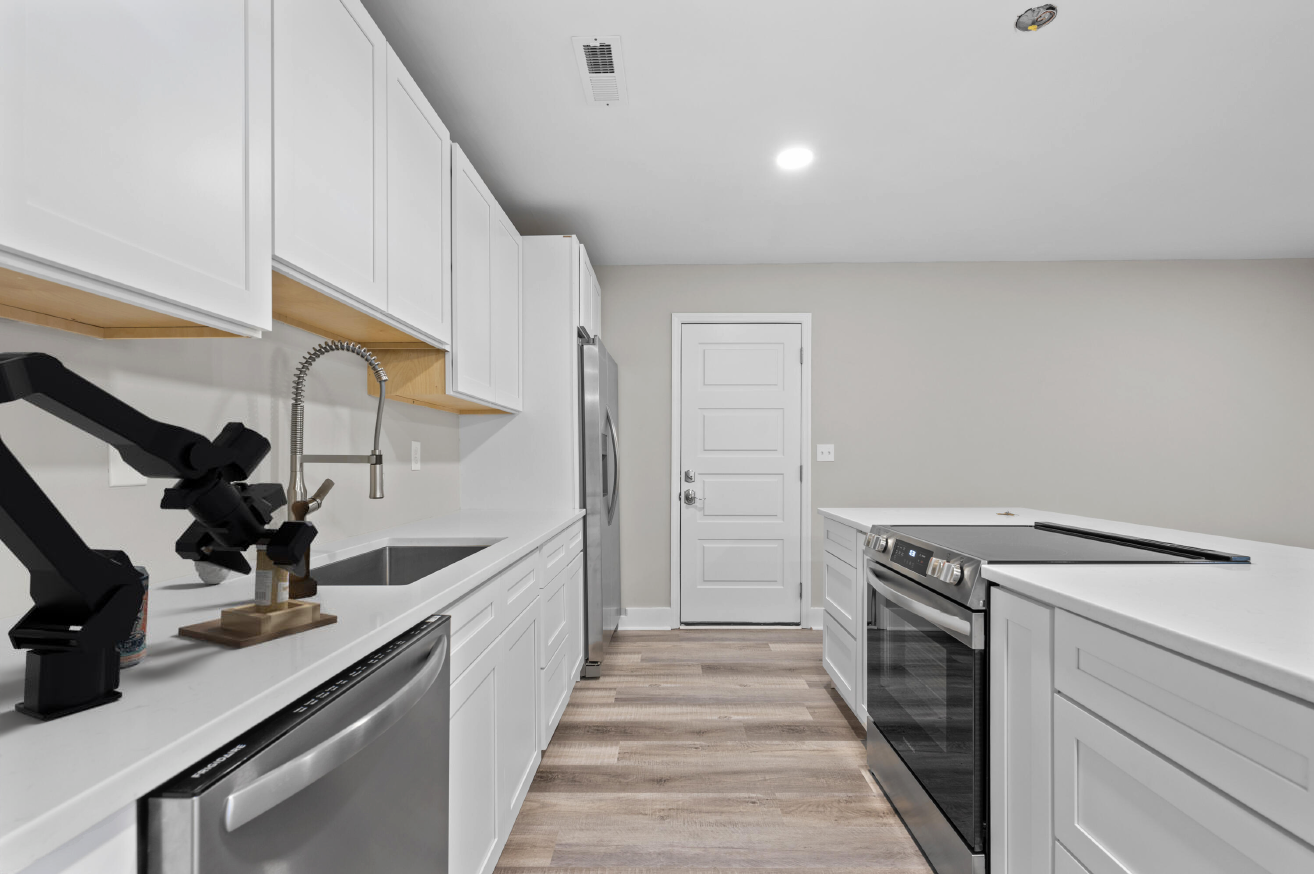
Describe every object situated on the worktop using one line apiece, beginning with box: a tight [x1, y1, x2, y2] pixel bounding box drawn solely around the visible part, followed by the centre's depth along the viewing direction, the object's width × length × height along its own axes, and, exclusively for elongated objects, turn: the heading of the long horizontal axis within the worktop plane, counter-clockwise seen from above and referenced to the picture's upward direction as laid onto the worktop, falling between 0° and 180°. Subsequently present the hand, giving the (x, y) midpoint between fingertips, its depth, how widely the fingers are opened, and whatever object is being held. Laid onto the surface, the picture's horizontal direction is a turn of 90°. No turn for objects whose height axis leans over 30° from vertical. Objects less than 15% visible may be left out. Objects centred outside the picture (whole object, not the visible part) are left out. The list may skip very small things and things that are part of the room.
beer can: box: [116, 565, 150, 669], centre depth 76 cm, size 5×5×12 cm
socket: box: [177, 599, 338, 649], centre depth 93 cm, size 15×14×4 cm
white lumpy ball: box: [194, 562, 232, 585], centre depth 124 cm, size 6×7×7 cm
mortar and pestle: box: [288, 499, 318, 600], centre depth 115 cm, size 7×6×18 cm
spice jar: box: [254, 545, 289, 614], centre depth 92 cm, size 5×5×14 cm
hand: (276, 573), depth 93 cm, fingers open, 9 cm apart
